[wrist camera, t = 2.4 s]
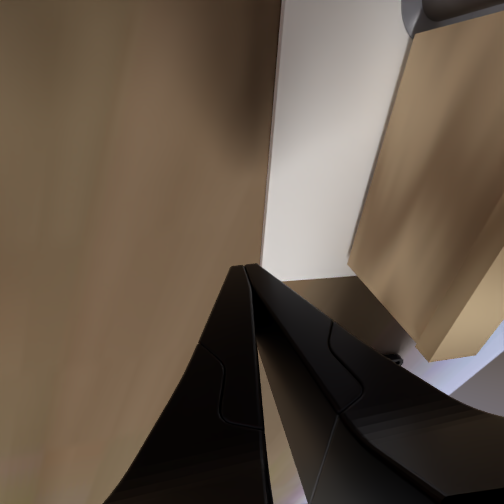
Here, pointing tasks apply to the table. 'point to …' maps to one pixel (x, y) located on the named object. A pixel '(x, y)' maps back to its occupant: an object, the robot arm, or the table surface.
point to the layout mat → (332, 124)
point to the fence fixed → (454, 7)
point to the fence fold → (441, 193)
